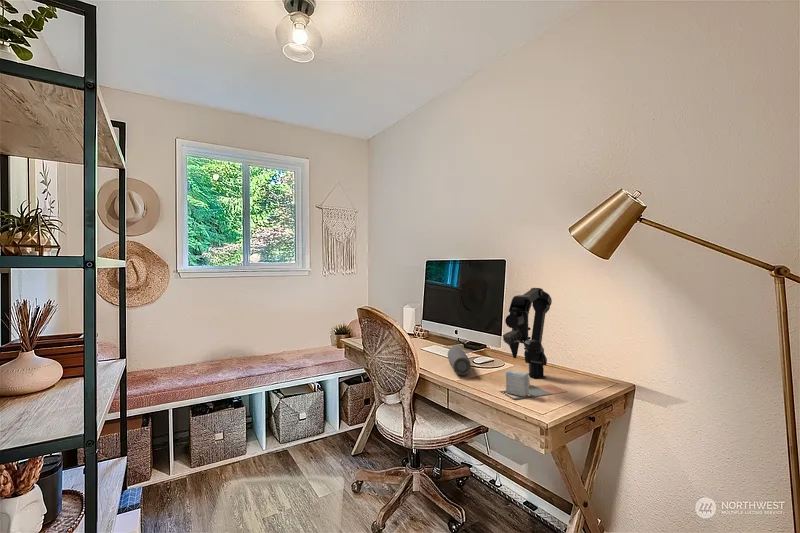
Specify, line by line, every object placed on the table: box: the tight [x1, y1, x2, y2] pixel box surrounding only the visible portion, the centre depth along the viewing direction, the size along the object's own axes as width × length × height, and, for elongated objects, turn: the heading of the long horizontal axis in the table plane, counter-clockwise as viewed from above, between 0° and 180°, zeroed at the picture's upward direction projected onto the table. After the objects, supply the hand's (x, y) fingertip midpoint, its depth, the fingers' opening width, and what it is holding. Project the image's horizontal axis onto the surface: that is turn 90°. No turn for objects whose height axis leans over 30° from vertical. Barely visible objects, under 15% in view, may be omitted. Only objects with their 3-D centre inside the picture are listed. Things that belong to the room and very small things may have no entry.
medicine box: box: [505, 369, 529, 397], centre depth 156 cm, size 8×4×9 cm, turn 48°
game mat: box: [499, 383, 569, 401], centre depth 159 cm, size 10×27×1 cm, turn 110°
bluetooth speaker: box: [447, 346, 472, 376], centre depth 190 cm, size 23×9×10 cm, turn 0°
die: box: [528, 375, 531, 387], centre depth 167 cm, size 5×5×5 cm
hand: (521, 360), depth 166 cm, fingers open, 9 cm apart
